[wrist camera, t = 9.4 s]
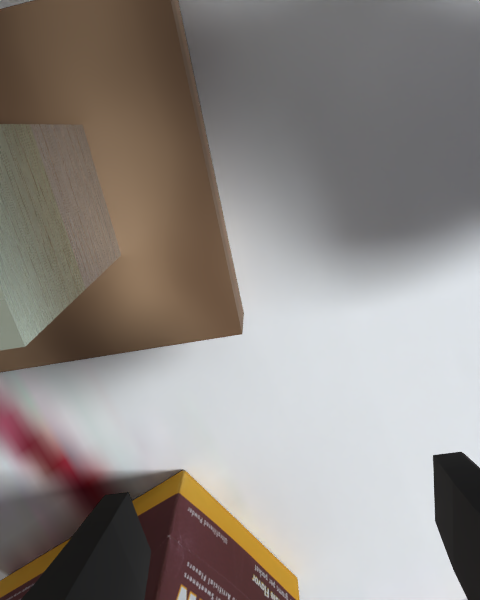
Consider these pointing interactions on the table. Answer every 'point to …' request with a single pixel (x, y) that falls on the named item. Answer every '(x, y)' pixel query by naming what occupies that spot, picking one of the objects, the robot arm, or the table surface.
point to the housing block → (48, 226)
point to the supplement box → (189, 551)
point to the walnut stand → (126, 172)
